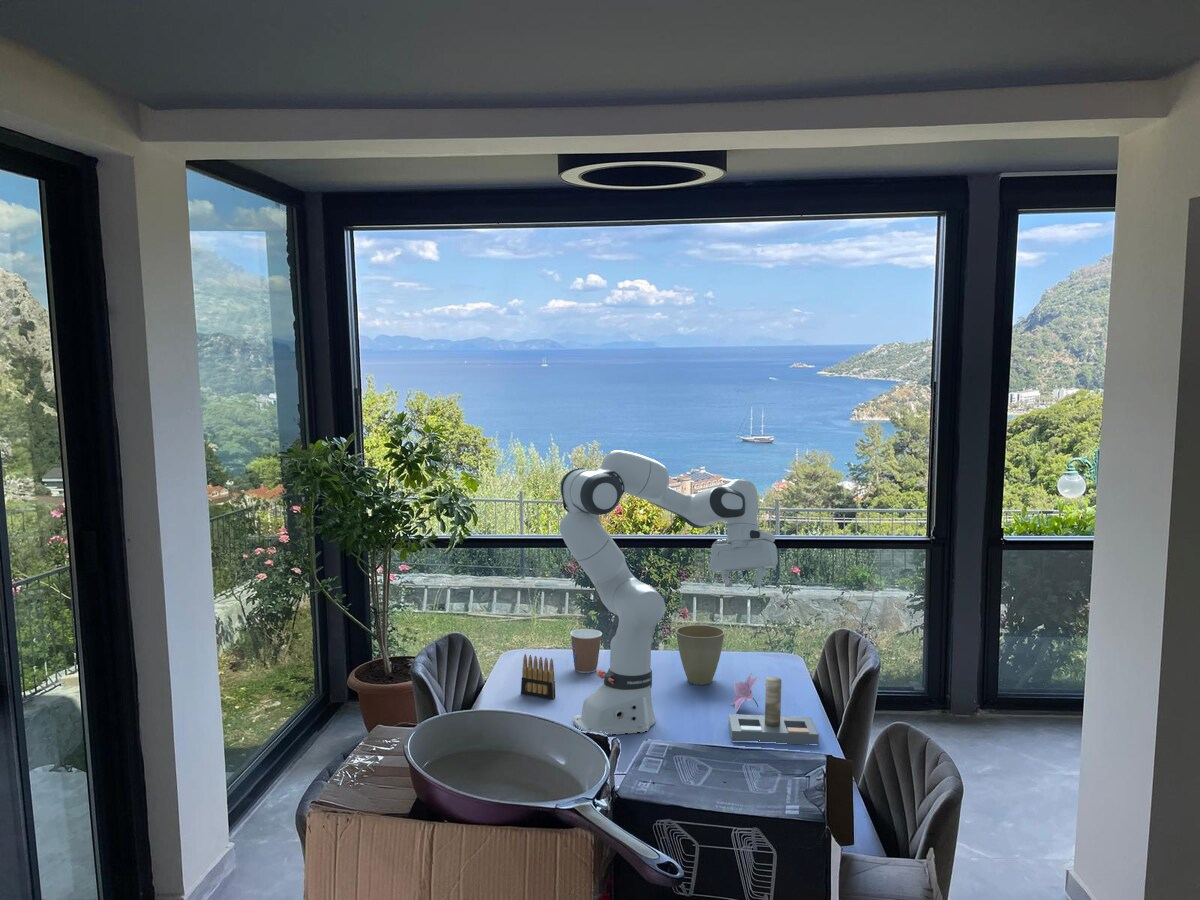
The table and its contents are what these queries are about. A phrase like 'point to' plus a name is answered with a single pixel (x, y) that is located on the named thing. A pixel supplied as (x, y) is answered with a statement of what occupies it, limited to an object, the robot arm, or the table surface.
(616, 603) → the robot arm
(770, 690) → the peg
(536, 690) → the ammunition clip
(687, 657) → the plant pot
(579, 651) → the coffee cup
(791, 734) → the socket deck
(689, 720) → the table surface
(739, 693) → the lily
